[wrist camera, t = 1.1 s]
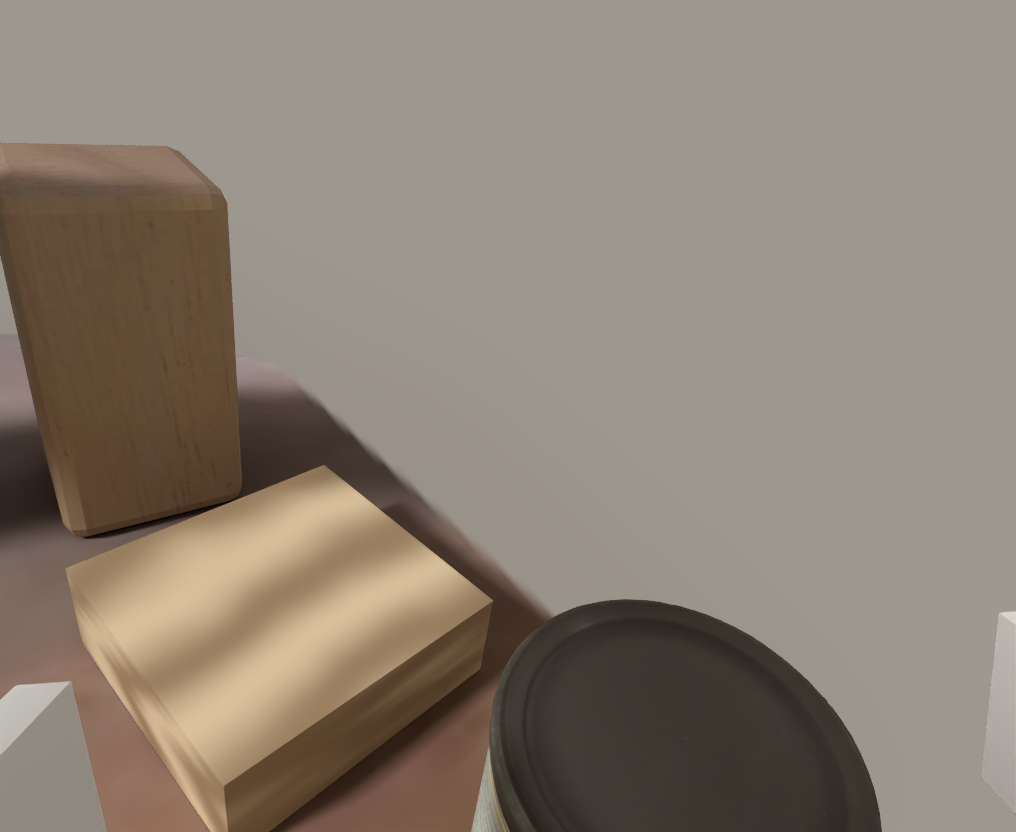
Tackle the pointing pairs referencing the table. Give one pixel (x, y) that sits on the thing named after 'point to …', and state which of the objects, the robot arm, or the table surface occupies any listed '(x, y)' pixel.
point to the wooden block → (123, 327)
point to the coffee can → (664, 732)
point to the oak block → (277, 642)
